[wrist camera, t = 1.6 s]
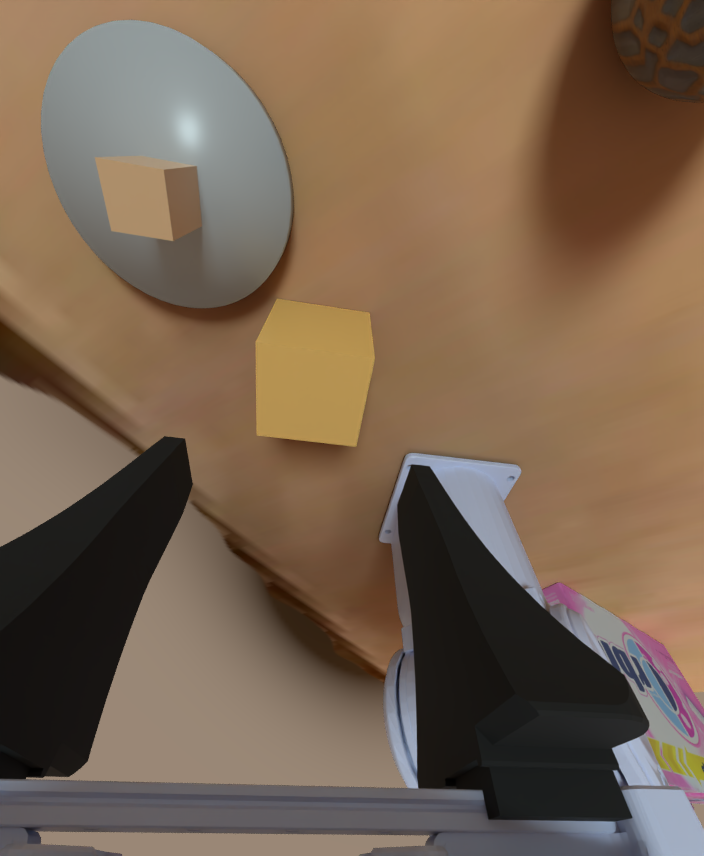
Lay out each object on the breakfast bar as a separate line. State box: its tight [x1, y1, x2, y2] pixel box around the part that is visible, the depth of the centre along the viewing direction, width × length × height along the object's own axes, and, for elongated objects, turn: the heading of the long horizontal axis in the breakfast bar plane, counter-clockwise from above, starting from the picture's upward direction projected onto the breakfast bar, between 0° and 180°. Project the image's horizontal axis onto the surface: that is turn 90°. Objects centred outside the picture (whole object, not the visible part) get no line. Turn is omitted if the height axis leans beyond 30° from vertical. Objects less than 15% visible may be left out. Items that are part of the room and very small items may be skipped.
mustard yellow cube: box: [256, 299, 375, 447], centre depth 17 cm, size 5×5×5 cm
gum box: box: [542, 583, 704, 812], centre depth 35 cm, size 24×8×14 cm, turn 51°
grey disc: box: [41, 20, 294, 308], centre depth 13 cm, size 9×9×4 cm
